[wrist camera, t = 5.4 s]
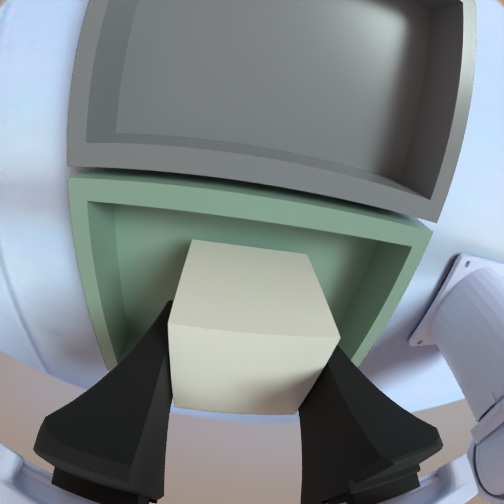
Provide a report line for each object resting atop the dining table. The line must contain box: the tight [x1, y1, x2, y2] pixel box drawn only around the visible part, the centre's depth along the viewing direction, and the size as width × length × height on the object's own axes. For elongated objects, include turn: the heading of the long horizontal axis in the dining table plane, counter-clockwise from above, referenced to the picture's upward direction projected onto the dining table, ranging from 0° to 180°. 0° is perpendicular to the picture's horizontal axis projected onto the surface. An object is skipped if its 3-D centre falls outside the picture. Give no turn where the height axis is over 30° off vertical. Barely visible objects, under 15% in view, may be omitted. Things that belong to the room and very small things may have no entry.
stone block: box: [168, 239, 341, 415], centre depth 10 cm, size 5×5×5 cm
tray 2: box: [68, 167, 433, 371], centre depth 12 cm, size 14×11×3 cm
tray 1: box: [67, 0, 476, 223], centre depth 7 cm, size 14×11×3 cm
